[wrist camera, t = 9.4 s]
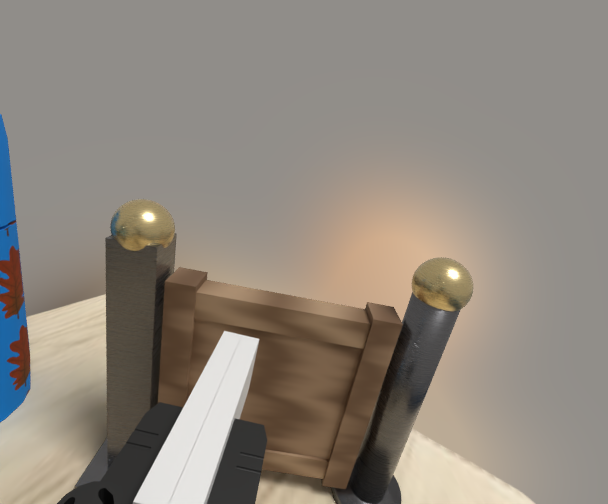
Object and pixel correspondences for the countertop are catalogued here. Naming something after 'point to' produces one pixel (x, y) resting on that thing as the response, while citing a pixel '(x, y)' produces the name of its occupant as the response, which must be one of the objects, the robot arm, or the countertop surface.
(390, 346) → the walnut gate
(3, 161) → the thermos
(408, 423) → the hinge post
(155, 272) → the post
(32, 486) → the countertop surface
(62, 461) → the countertop surface
